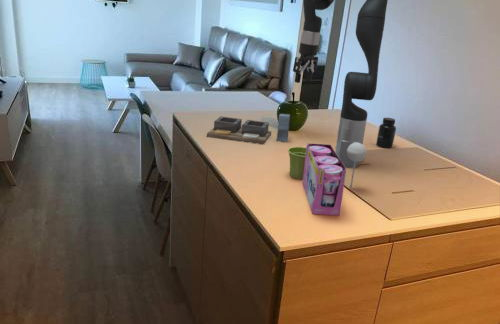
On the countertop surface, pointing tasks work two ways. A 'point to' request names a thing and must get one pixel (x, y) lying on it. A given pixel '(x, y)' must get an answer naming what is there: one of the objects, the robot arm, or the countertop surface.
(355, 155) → the lollipop
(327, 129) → the countertop surface
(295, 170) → the plant pot
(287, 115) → the plug
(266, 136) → the socket board
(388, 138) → the supplement bottle
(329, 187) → the gum box
